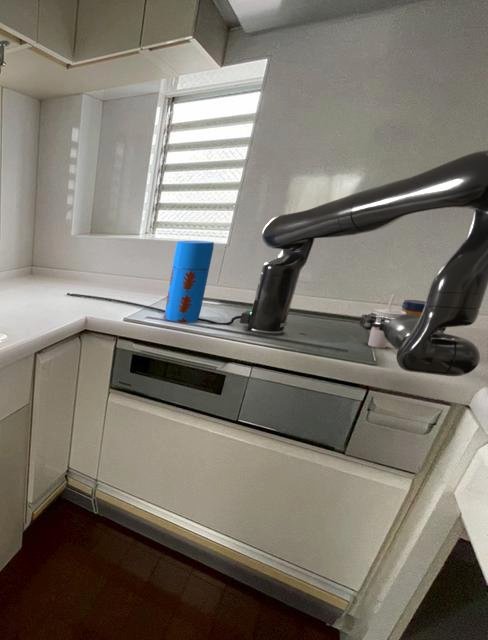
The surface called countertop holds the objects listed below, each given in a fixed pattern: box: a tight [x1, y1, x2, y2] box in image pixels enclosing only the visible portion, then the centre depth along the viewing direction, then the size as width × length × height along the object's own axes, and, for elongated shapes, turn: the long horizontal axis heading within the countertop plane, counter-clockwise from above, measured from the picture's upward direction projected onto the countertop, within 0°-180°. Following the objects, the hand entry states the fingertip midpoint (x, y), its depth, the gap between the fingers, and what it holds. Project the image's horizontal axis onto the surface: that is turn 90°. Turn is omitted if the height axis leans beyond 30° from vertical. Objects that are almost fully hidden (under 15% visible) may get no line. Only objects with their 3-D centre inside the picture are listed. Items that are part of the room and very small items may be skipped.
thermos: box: [164, 240, 215, 324], centre depth 133 cm, size 11×11×25 cm
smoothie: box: [367, 293, 407, 349], centre depth 107 cm, size 6×6×14 cm
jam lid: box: [401, 299, 426, 312], centre depth 109 cm, size 6×6×2 cm
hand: (392, 319), depth 103 cm, fingers open, 8 cm apart
